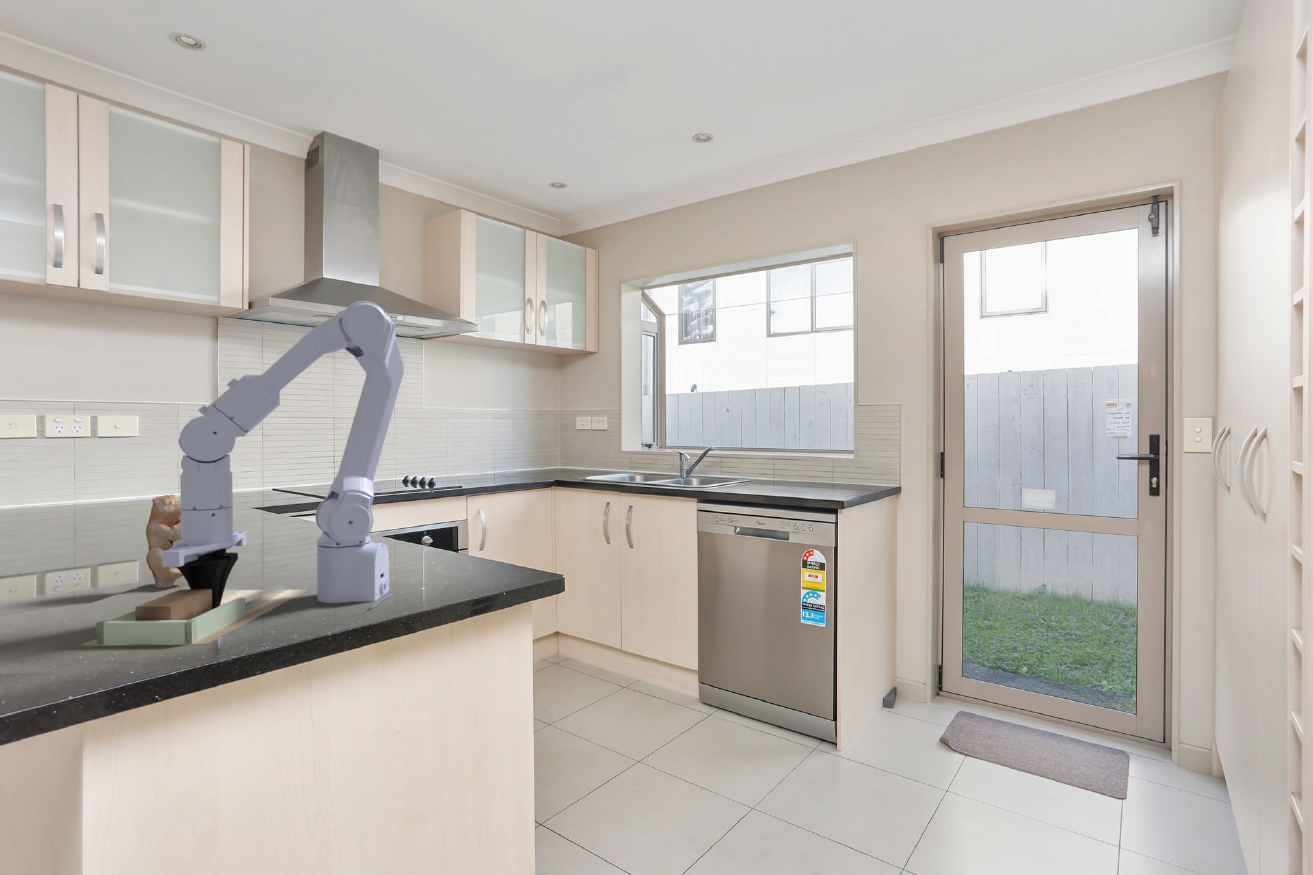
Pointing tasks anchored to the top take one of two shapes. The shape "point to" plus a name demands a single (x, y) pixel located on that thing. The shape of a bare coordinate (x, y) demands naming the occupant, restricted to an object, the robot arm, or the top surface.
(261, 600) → the slot rails
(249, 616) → the slot board
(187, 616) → the chip
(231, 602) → the tray
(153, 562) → the figurine
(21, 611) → the top surface
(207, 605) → the brown wooden block
